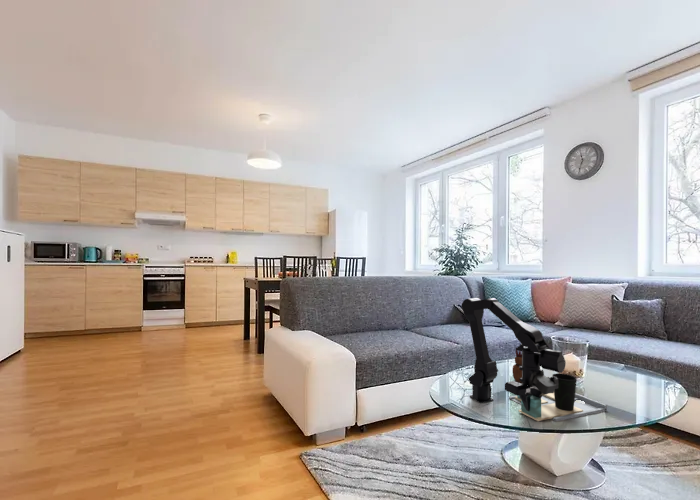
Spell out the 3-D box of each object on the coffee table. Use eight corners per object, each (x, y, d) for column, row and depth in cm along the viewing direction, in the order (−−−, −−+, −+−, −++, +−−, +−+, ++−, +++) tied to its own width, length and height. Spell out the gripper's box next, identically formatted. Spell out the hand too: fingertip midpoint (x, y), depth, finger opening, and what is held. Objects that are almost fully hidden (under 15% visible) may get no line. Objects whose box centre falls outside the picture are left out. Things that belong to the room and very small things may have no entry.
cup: (580, 415, 129) (580, 381, 130) (556, 413, 131) (556, 379, 131) (571, 406, 137) (571, 374, 137) (549, 404, 139) (549, 372, 139)
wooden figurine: (510, 381, 165) (510, 347, 165) (515, 378, 169) (515, 345, 169) (526, 385, 160) (526, 350, 160) (531, 382, 164) (531, 348, 164)
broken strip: (531, 406, 137) (531, 400, 137) (514, 398, 144) (514, 392, 144) (574, 398, 144) (574, 392, 144) (555, 391, 152) (555, 385, 152)
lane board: (555, 421, 125) (555, 415, 125) (509, 398, 145) (509, 393, 145) (606, 410, 134) (606, 405, 134) (556, 390, 154) (556, 385, 154)
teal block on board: (537, 421, 124) (537, 401, 124) (518, 411, 132) (518, 393, 132) (583, 411, 132) (583, 393, 132) (562, 403, 140) (562, 385, 140)
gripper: (529, 375, 118) (529, 424, 118) (571, 369, 125) (571, 415, 124) (503, 365, 129) (503, 410, 128) (543, 360, 135) (544, 403, 135)
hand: (531, 410), depth 129 cm, fingers open, 3 cm apart
